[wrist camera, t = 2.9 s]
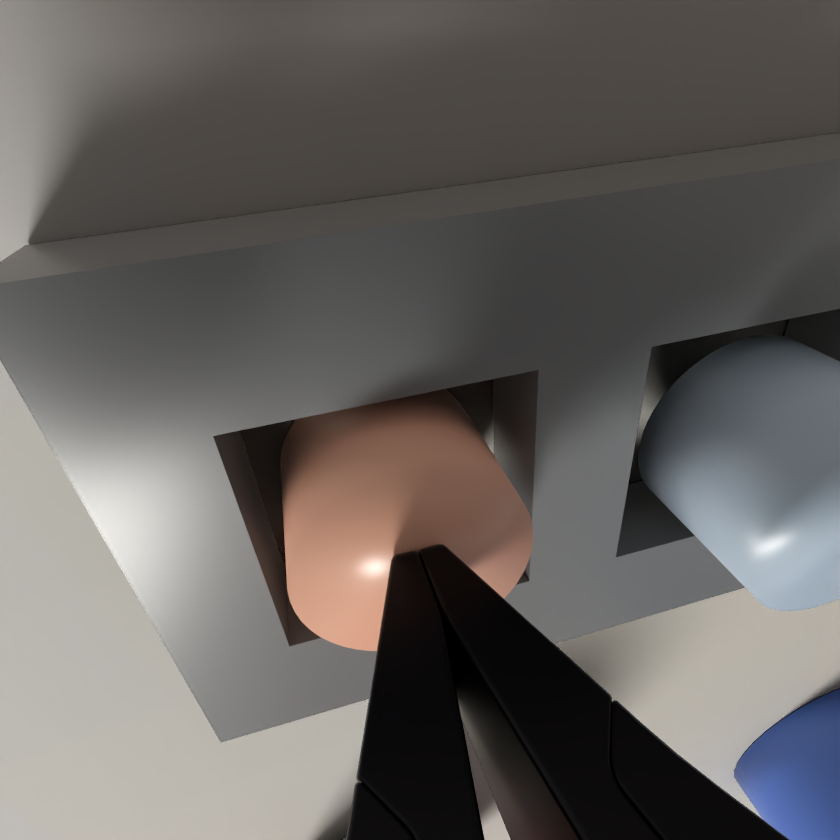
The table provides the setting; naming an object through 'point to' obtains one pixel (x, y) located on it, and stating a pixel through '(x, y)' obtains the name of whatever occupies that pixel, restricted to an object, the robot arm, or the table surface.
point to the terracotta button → (391, 508)
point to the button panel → (407, 380)
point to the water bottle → (798, 772)
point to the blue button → (756, 465)
